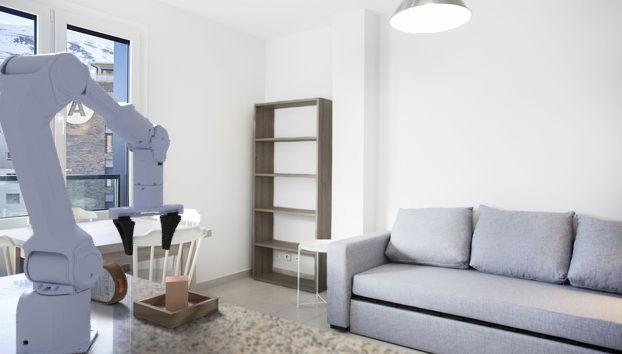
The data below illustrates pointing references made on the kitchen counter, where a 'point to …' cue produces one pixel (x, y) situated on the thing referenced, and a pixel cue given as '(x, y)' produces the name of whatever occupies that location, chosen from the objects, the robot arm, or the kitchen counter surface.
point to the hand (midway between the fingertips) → (147, 251)
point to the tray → (157, 312)
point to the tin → (110, 284)
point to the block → (176, 292)
